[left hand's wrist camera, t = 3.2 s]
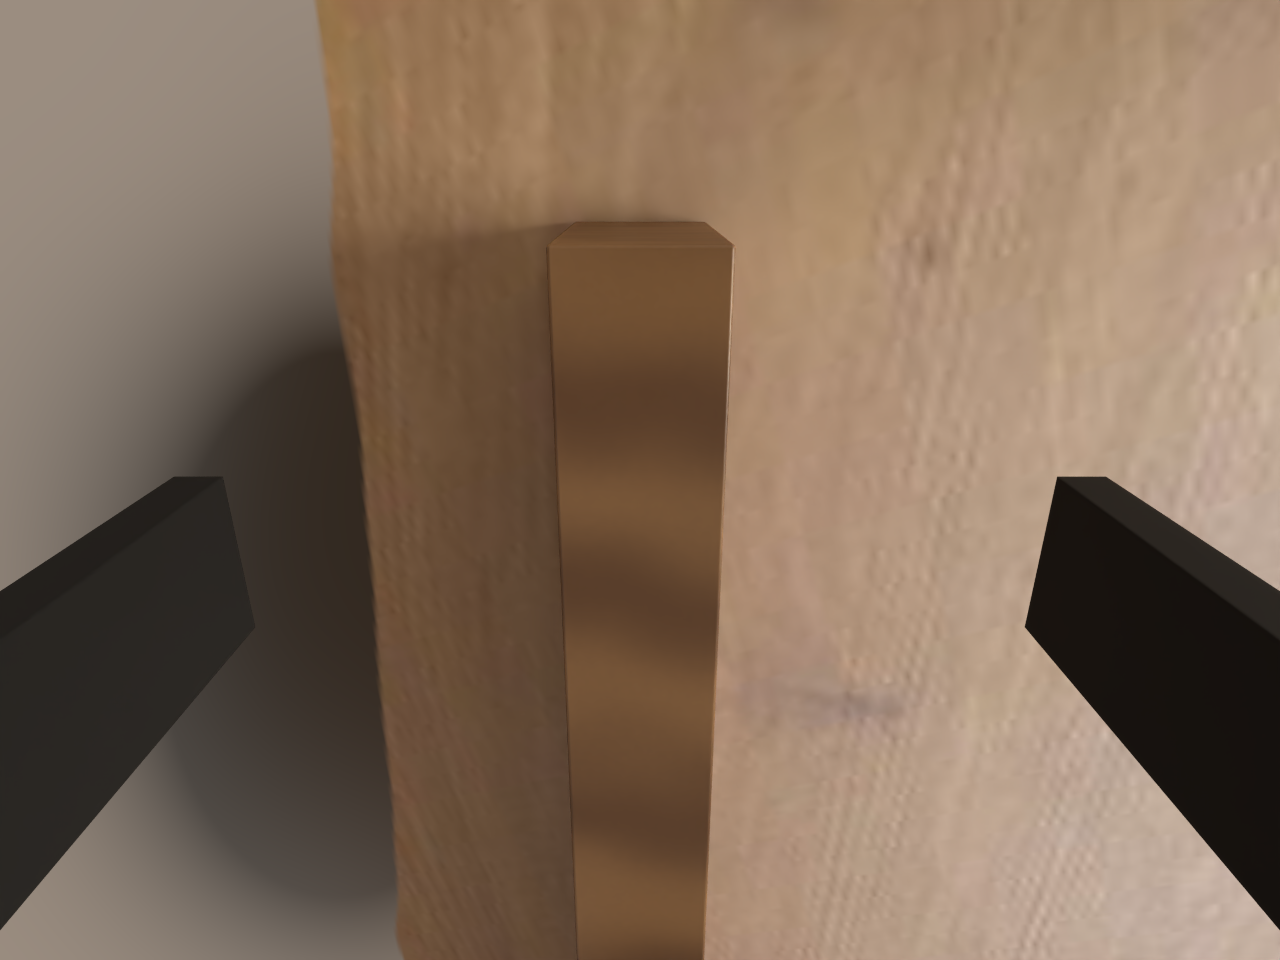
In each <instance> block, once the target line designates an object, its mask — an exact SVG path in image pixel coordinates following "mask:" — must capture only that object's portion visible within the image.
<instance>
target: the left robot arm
mask: <svg viewBox="0 0 1280 960" xmlns="http://www.w3.org/2000/svg"><path fill="white" fill-rule="evenodd" d="M254 628H255V624H254V619H253V615H252V610H251V606H250V601H249V596H248V592H247V587H246V582H245V578H244V573H243V568H242V564H241V559H240V555H239V550H238V545H237V541H236V536H235V531H234V527H233V522H232V518H231V513H230V508H229V504H228V499H227V494H226V490H225V485H224V480H223V477H173V478H171V479H170V480H168V481H167V482H165V483H164V484H162V485H161V486H159V487H158V488H156V489H155V490H153V491H152V492H150V493H149V494H147V495H146V496H144V497H143V498H141V499H140V500H138V501H136V502H135V503H134V504H132V505H130V506H129V507H127V508H126V509H124V510H123V511H121V512H120V513H118V514H117V515H115V516H114V517H112V518H111V519H109V520H108V521H106V522H105V523H103V524H102V525H100V526H99V527H97V528H96V529H94V530H92V531H91V532H89V533H88V534H86V535H85V536H83V537H82V538H80V539H79V540H77V541H76V542H74V543H73V544H71V545H70V546H68V547H67V548H65V549H64V550H62V551H61V552H59V553H58V554H56V555H55V556H53V557H52V558H50V559H48V560H47V561H45V562H44V563H42V564H41V565H39V566H38V567H36V568H35V569H33V570H32V571H30V572H29V573H27V574H26V575H24V576H23V577H21V578H20V579H18V580H17V581H15V582H14V583H12V584H11V585H9V586H8V587H6V588H5V589H3V590H1V591H0V930H1V929H2V927H3V926H4V925H5V924H6V923H7V921H8V920H9V919H10V918H11V917H12V915H13V914H14V913H15V912H16V911H17V910H18V908H19V907H20V906H21V905H22V904H23V902H24V901H25V900H26V899H27V898H28V896H29V895H30V894H31V893H32V892H33V891H34V889H35V888H36V887H37V886H38V885H39V883H40V882H41V881H42V880H43V879H44V877H45V876H46V875H47V874H48V873H49V871H50V870H51V869H52V868H53V867H54V866H55V864H56V863H57V862H58V861H59V860H60V858H61V857H62V856H63V855H64V854H65V852H66V851H67V850H68V849H69V848H70V847H71V845H72V844H73V843H74V842H75V841H76V839H77V838H78V837H79V836H80V835H81V833H82V832H83V831H84V830H85V829H86V827H87V826H88V825H89V824H90V823H91V822H92V820H93V819H94V818H95V817H96V816H97V814H98V813H99V812H100V811H101V810H102V808H103V807H104V806H105V805H106V804H107V802H108V801H109V800H110V799H111V798H112V797H113V795H114V794H115V793H116V792H117V791H118V789H119V788H120V787H121V786H122V785H123V784H124V782H125V781H126V780H127V779H128V778H129V776H130V775H131V774H132V773H133V772H134V770H135V769H136V768H137V767H138V766H139V764H140V763H141V762H142V761H143V760H144V759H145V757H146V756H147V755H148V754H149V753H150V751H151V750H152V749H153V748H154V747H155V746H156V744H157V743H158V742H159V741H160V740H161V738H162V737H163V736H164V735H165V734H166V732H167V731H168V730H169V729H170V728H171V727H172V725H173V724H174V723H175V722H176V721H177V719H178V718H179V717H180V716H181V715H182V713H183V712H184V711H185V710H186V709H187V707H188V706H189V705H190V704H191V703H192V702H193V700H194V699H195V698H196V697H197V696H198V694H199V693H200V692H201V691H202V690H203V688H204V687H205V686H206V685H207V684H208V683H209V681H210V680H211V679H212V678H213V676H214V675H215V674H216V673H217V672H218V671H219V669H220V668H221V667H222V666H223V665H224V664H225V662H226V661H227V660H228V659H229V658H230V656H231V655H232V654H233V653H234V652H235V650H236V649H237V648H238V647H239V646H240V644H241V643H242V642H243V641H244V640H245V639H246V637H247V636H248V635H249V634H250V633H251V631H252V630H253V629H254ZM1025 628H1026V629H1027V630H1028V631H1029V633H1030V634H1031V635H1032V636H1033V637H1034V639H1035V640H1036V641H1037V642H1038V643H1039V645H1040V646H1041V647H1042V648H1043V649H1044V650H1045V652H1046V653H1047V654H1048V655H1049V656H1050V658H1051V659H1052V660H1053V661H1054V662H1055V664H1056V665H1057V666H1058V667H1059V668H1060V669H1061V671H1062V672H1063V673H1064V674H1065V675H1066V677H1067V678H1068V679H1069V680H1070V681H1071V683H1072V684H1073V685H1074V686H1075V687H1076V688H1077V690H1078V691H1079V692H1080V693H1081V694H1082V696H1083V697H1084V698H1085V699H1086V700H1087V702H1088V703H1089V704H1090V705H1091V706H1092V707H1093V709H1094V710H1095V711H1096V712H1097V713H1098V715H1099V716H1100V717H1101V718H1102V719H1103V721H1104V722H1105V723H1106V724H1107V725H1108V727H1109V728H1110V729H1111V730H1112V731H1113V732H1114V734H1115V735H1116V736H1117V737H1118V738H1119V740H1120V741H1121V742H1122V743H1123V744H1124V746H1125V747H1126V748H1127V749H1128V750H1129V751H1130V753H1131V754H1132V755H1133V756H1134V757H1135V759H1136V760H1137V761H1138V762H1139V763H1140V765H1141V766H1142V767H1143V768H1144V769H1145V770H1146V772H1147V773H1148V774H1149V775H1150V776H1151V778H1152V779H1153V780H1154V781H1155V782H1156V784H1157V785H1158V786H1159V787H1160V788H1161V790H1162V791H1163V792H1164V793H1165V794H1166V795H1167V797H1168V798H1169V799H1170V800H1171V801H1172V803H1173V804H1174V805H1175V806H1176V807H1177V809H1178V810H1179V811H1180V812H1181V813H1182V814H1183V816H1184V817H1185V818H1186V819H1187V820H1188V822H1189V823H1190V824H1191V825H1192V826H1193V828H1194V829H1195V830H1196V831H1197V832H1198V833H1199V835H1200V836H1201V837H1202V838H1203V839H1204V841H1205V842H1206V843H1207V844H1208V845H1209V847H1210V848H1211V849H1212V850H1213V851H1214V852H1215V854H1216V855H1217V856H1218V857H1219V858H1220V860H1221V861H1222V862H1223V863H1224V864H1225V866H1226V867H1227V868H1228V869H1229V870H1230V872H1231V873H1232V874H1233V875H1234V876H1235V877H1236V879H1237V880H1238V881H1239V882H1240V883H1241V885H1242V886H1243V887H1244V888H1245V889H1246V891H1247V892H1248V893H1249V894H1250V895H1251V896H1252V898H1253V899H1254V900H1255V901H1256V902H1257V904H1258V905H1259V906H1260V907H1261V908H1262V910H1263V911H1264V912H1265V913H1266V914H1267V915H1268V917H1269V918H1270V919H1271V920H1272V921H1273V923H1274V924H1275V925H1276V926H1277V927H1278V929H1279V930H1280V591H1279V590H1277V589H1276V588H1274V587H1272V586H1271V585H1269V584H1268V583H1266V582H1265V581H1263V580H1262V579H1260V578H1259V577H1257V576H1256V575H1254V574H1253V573H1251V572H1250V571H1248V570H1247V569H1245V568H1244V567H1242V566H1241V565H1239V564H1238V563H1236V562H1235V561H1233V560H1232V559H1230V558H1228V557H1227V556H1225V555H1224V554H1222V553H1221V552H1219V551H1218V550H1216V549H1215V548H1213V547H1212V546H1210V545H1209V544H1207V543H1206V542H1204V541H1203V540H1201V539H1200V538H1198V537H1197V536H1195V535H1194V534H1192V533H1191V532H1189V531H1188V530H1186V529H1184V528H1183V527H1181V526H1180V525H1178V524H1177V523H1175V522H1174V521H1172V520H1171V519H1169V518H1168V517H1166V516H1165V515H1163V514H1162V513H1160V512H1159V511H1157V510H1156V509H1154V508H1153V507H1151V506H1150V505H1148V504H1147V503H1145V502H1144V501H1142V500H1140V499H1139V498H1137V497H1136V496H1134V495H1133V494H1131V493H1130V492H1128V491H1127V490H1125V489H1124V488H1122V487H1121V486H1119V485H1118V484H1116V483H1115V482H1113V481H1112V480H1110V479H1109V478H1107V477H1057V480H1056V485H1055V490H1054V494H1053V499H1052V504H1051V508H1050V513H1049V517H1048V522H1047V527H1046V531H1045V536H1044V541H1043V545H1042V550H1041V555H1040V559H1039V564H1038V568H1037V573H1036V578H1035V582H1034V587H1033V592H1032V596H1031V601H1030V606H1029V610H1028V615H1027V619H1026V624H1025Z"/></svg>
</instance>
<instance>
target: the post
mask: <svg viewBox="0 0 1280 960" xmlns="http://www.w3.org/2000/svg"><path fill="white" fill-rule="evenodd" d="M546 252H547V275H548V298H549V321H550V344H551V367H552V390H553V413H554V436H555V459H556V482H557V506H558V529H559V552H560V575H561V598H562V621H563V644H564V667H565V690H566V713H567V737H568V760H569V783H570V806H571V829H572V852H573V875H574V898H575V921H576V944H577V960H704V948H705V925H706V902H707V879H708V857H709V834H710V811H711V789H712V766H713V743H714V720H715V698H716V675H717V652H718V630H719V607H720V584H721V561H722V539H723V516H724V493H725V471H726V448H727V425H728V402H729V380H730V357H731V334H732V312H733V289H734V266H735V246H734V245H733V244H732V243H731V242H730V241H728V240H727V239H726V238H725V237H723V236H722V235H721V234H720V233H718V232H717V231H716V230H714V229H713V228H712V227H711V226H709V225H708V224H707V223H705V222H576V223H574V224H573V225H571V226H570V227H569V228H568V229H567V230H565V231H564V232H563V233H562V234H561V235H559V236H558V237H557V238H556V239H554V240H553V241H552V242H551V243H550V244H548V245H547V248H546Z"/></svg>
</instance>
